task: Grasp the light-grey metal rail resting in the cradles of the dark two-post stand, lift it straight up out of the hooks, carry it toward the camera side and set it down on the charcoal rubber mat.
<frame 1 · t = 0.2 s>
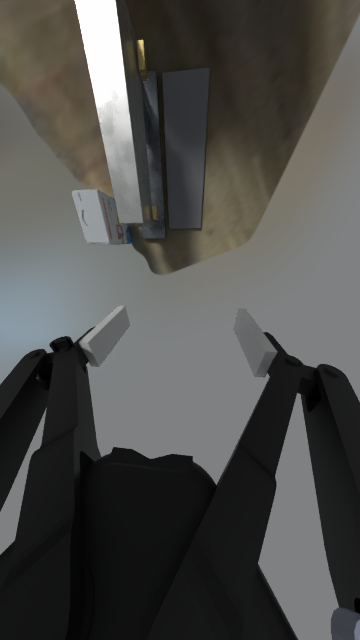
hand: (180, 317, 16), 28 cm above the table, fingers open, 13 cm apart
ink box: (120, 225, 35), on the table
rail: (136, 155, 23), point 8 cm above the table, touching stand
stand: (149, 175, 30), on the table
mat: (185, 166, 28), on the table
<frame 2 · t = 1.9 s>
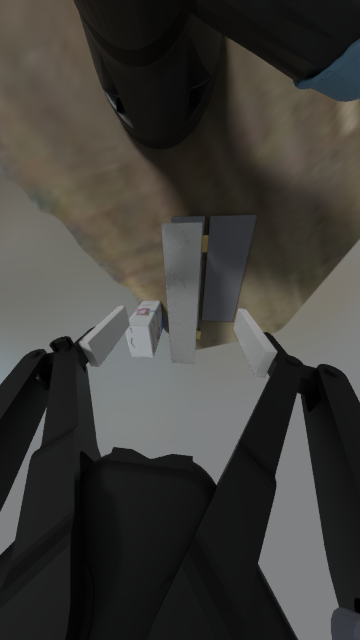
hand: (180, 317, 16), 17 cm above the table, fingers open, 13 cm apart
ink box: (154, 314, 37), on the table
rail: (185, 294, 24), point 8 cm above the table, touching stand
stand: (187, 282, 31), on the table
mat: (223, 278, 30), on the table
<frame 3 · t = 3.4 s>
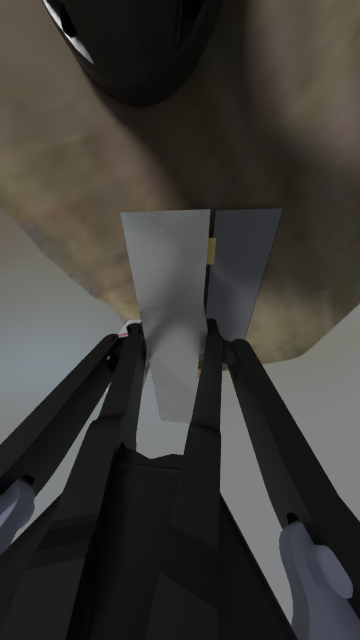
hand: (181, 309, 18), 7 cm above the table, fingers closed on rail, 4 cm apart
rail: (180, 321, 17), point 8 cm above the table, touching gripper, stand
mat: (231, 293, 23), on the table
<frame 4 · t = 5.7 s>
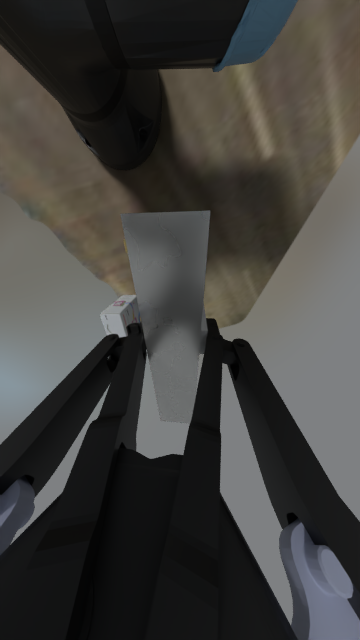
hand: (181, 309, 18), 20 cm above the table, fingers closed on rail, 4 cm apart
ink box: (133, 307, 42), on the table
rail: (180, 321, 17), point 22 cm above the table, touching gripper
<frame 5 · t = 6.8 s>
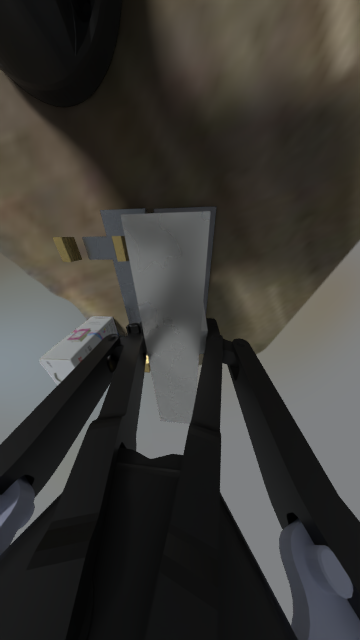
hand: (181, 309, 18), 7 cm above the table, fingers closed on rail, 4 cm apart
ink box: (109, 331, 30), on the table
rail: (180, 322, 17), point 8 cm above the table, touching gripper
stand: (140, 294, 24), on the table
mat: (184, 290, 23), on the table
when the fingers open (1 cm above the table, at t = 7.9 s): rail drops 2 cm, resting on mat.
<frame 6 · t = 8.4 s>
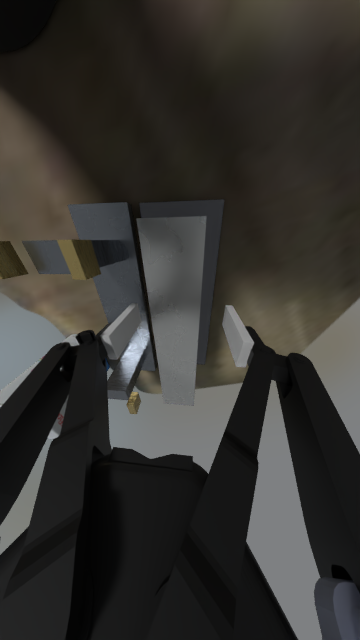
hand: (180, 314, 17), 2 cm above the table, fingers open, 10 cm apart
ink box: (93, 351, 25), on the table
rail: (181, 313, 19), resting on mat
stand: (128, 310, 20), on the table
mat: (182, 305, 19), on the table
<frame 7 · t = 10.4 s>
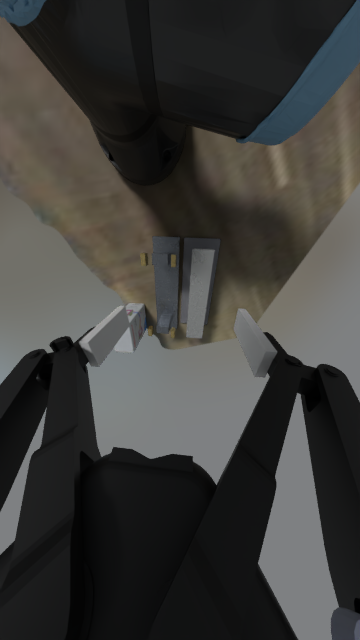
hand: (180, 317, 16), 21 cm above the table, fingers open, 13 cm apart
ink box: (139, 315, 41), on the table
rail: (197, 291, 35), resting on mat
stand: (167, 289, 36), on the table
mat: (197, 287, 35), on the table
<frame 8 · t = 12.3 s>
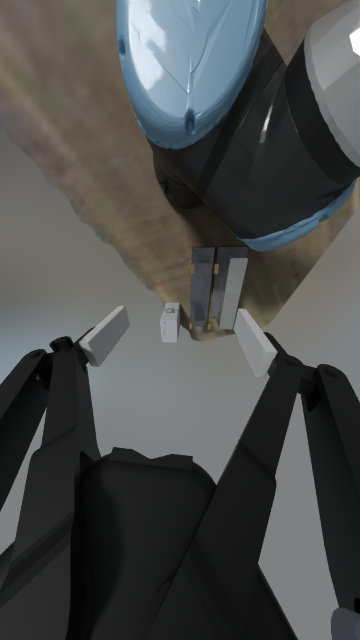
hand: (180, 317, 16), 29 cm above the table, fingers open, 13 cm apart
ink box: (173, 313, 49), on the table
rail: (226, 290, 42), resting on mat
stand: (200, 289, 43), on the table
mat: (226, 286, 42), on the table
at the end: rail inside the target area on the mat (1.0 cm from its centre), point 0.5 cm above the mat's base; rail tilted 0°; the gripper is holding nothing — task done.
